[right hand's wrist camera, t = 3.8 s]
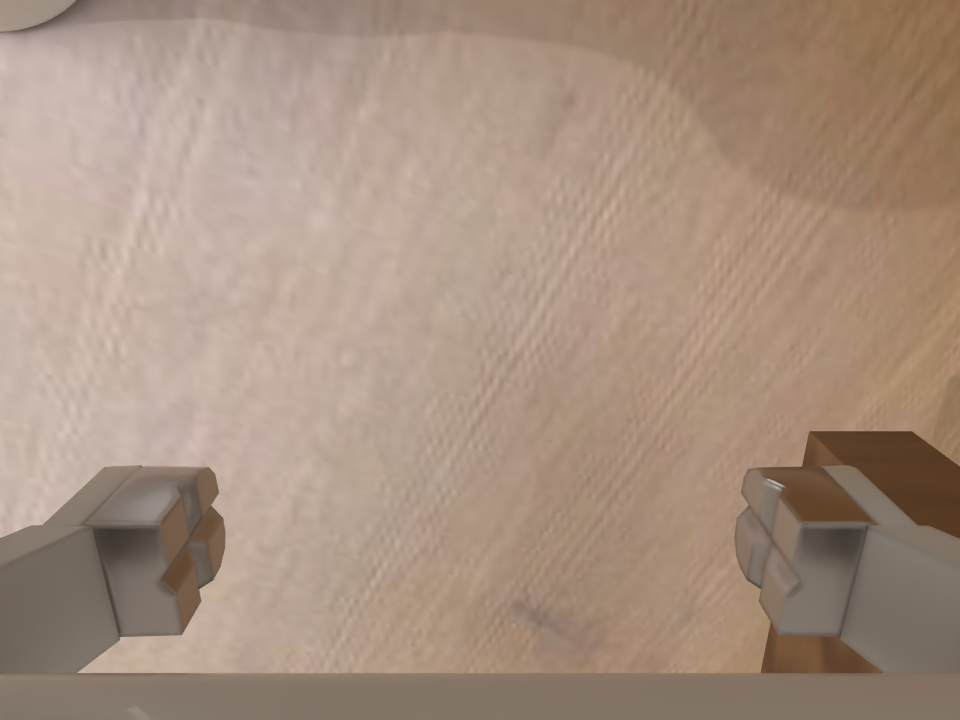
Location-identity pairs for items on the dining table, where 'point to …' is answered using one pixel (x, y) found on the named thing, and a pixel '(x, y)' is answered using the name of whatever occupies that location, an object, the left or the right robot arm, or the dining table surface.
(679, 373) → the dining table surface
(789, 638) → the bar
